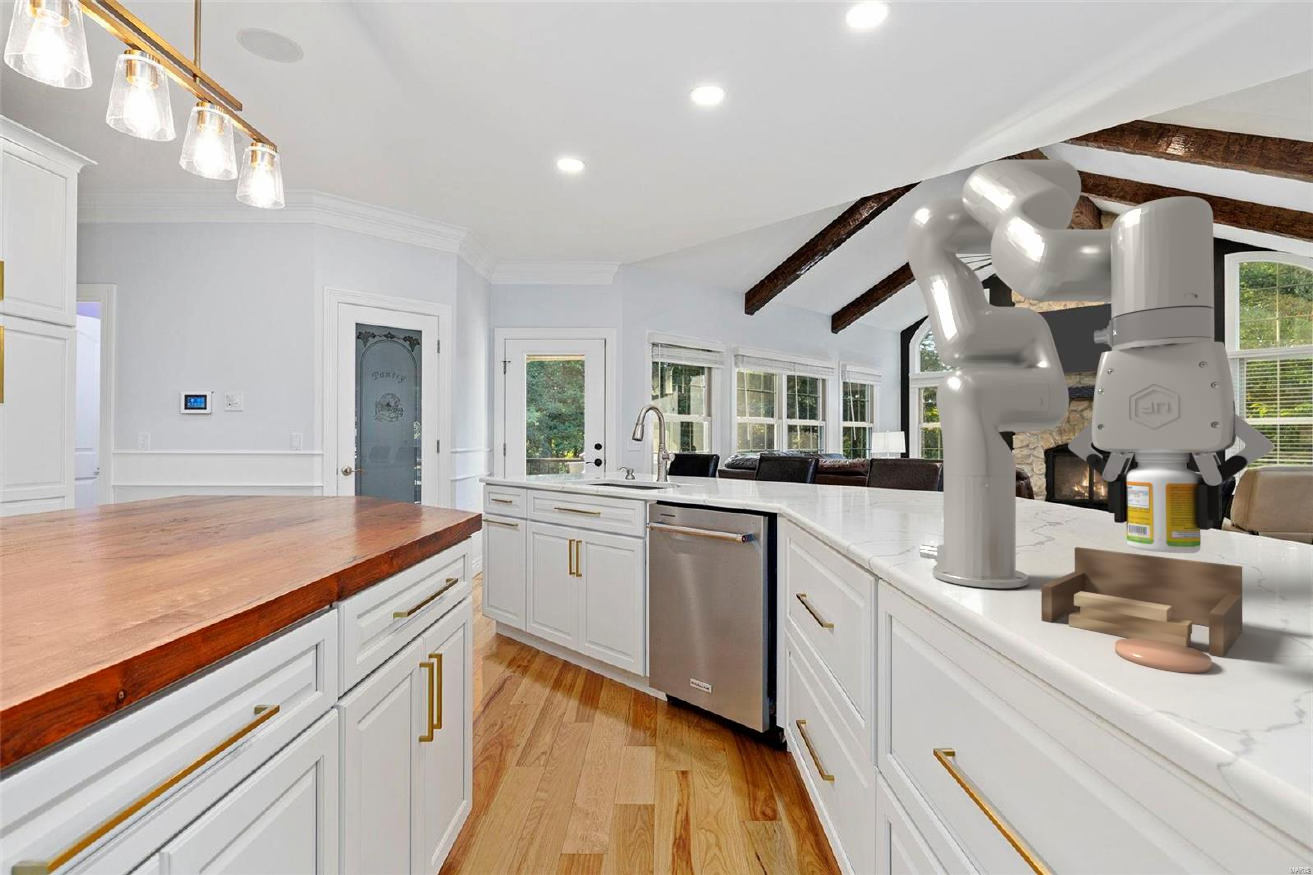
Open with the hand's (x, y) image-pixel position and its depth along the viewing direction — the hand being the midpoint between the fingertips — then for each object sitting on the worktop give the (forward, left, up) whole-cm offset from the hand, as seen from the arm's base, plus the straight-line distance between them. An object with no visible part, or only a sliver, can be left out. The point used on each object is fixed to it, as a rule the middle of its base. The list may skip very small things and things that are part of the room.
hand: (1162, 522), depth 57 cm
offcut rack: (-4, +11, -13) cm, 18 cm away
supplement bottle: (0, 0, -3) cm, 3 cm away
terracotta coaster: (0, 0, -13) cm, 13 cm away
